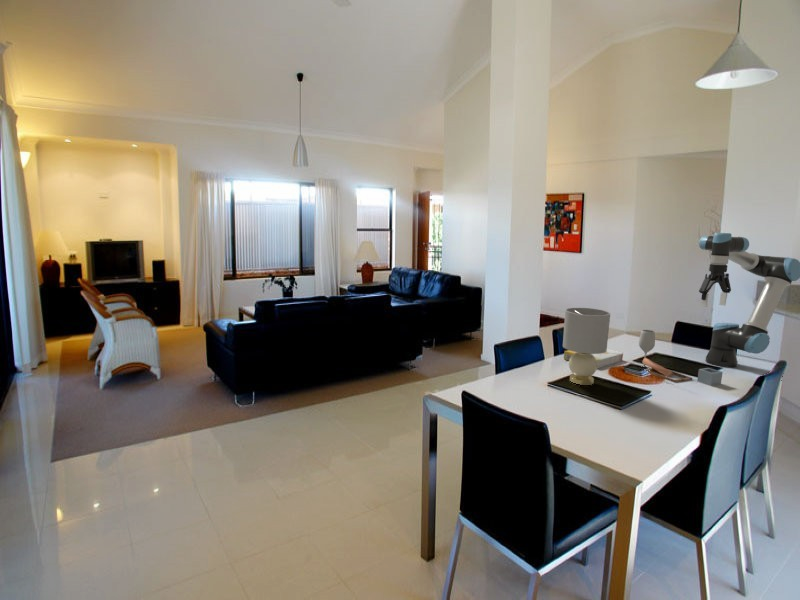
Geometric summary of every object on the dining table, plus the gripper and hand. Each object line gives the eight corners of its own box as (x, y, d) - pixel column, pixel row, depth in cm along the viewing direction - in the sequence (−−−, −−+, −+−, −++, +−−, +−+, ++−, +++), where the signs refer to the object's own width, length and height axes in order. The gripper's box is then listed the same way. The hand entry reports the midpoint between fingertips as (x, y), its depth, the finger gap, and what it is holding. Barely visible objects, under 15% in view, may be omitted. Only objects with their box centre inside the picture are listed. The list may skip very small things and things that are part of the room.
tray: (660, 371, 258) (660, 367, 258) (691, 382, 242) (692, 377, 241) (643, 373, 254) (643, 369, 253) (674, 384, 237) (674, 380, 237)
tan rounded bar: (674, 372, 245) (651, 351, 257) (669, 373, 244) (646, 351, 256) (667, 383, 249) (645, 361, 261) (662, 384, 248) (640, 362, 260)
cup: (706, 382, 242) (708, 367, 241) (720, 386, 236) (722, 372, 234) (696, 383, 239) (698, 369, 238) (710, 388, 233) (712, 373, 232)
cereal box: (563, 350, 275) (591, 343, 292) (562, 360, 276) (590, 352, 293) (596, 360, 259) (624, 352, 276) (595, 370, 260) (622, 361, 277)
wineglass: (653, 371, 257) (658, 333, 254) (638, 370, 259) (642, 332, 255) (649, 367, 265) (653, 329, 261) (634, 366, 266) (638, 328, 262)
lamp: (609, 382, 239) (616, 311, 233) (593, 392, 224) (600, 317, 218) (570, 372, 252) (575, 306, 246) (552, 381, 238) (558, 311, 232)
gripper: (728, 262, 252) (722, 303, 255) (694, 263, 242) (689, 305, 246) (742, 264, 245) (737, 305, 248) (708, 265, 235) (703, 308, 239)
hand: (713, 305), depth 247 cm, fingers open, 13 cm apart
